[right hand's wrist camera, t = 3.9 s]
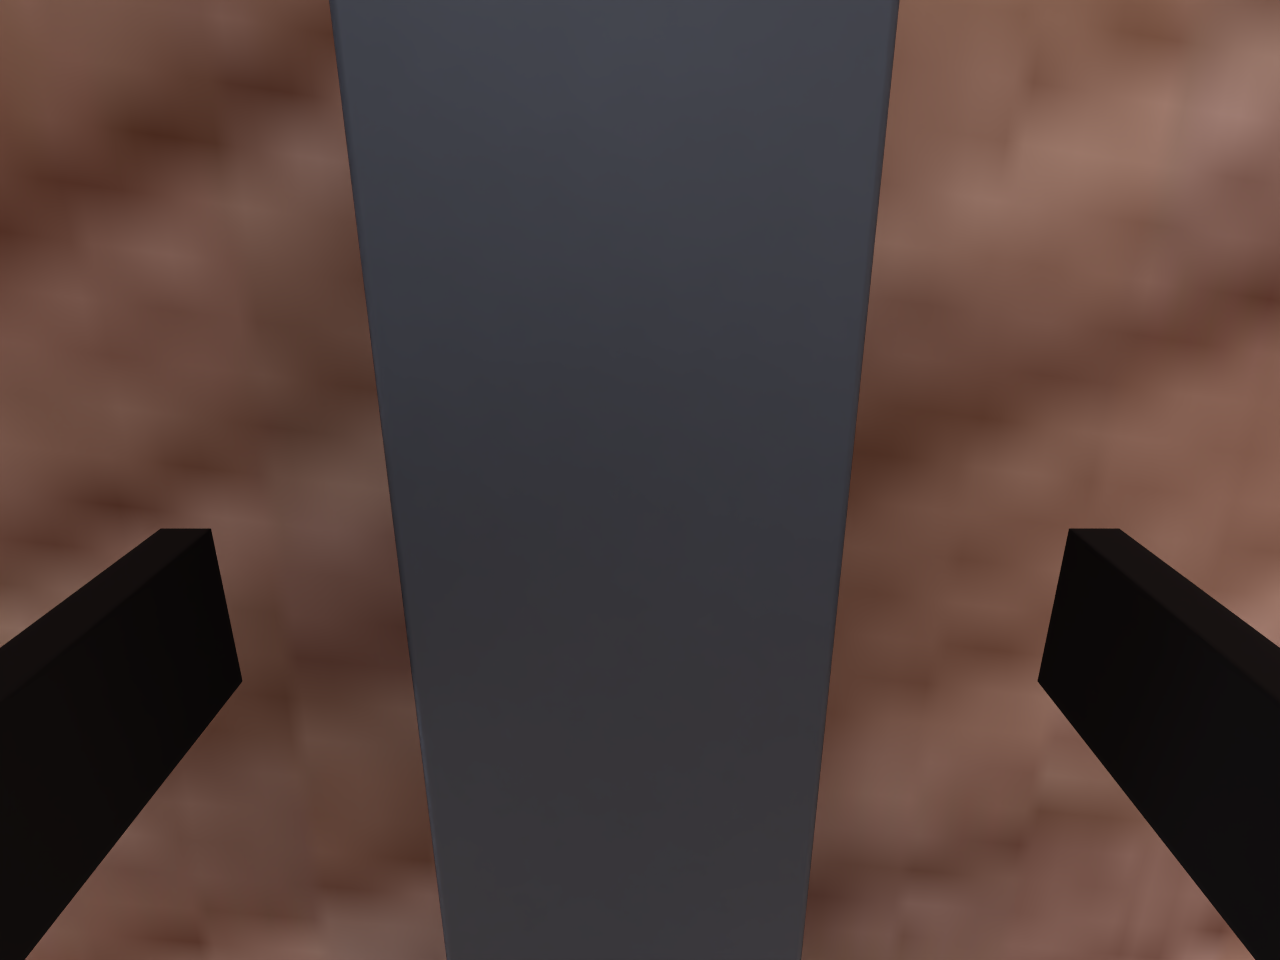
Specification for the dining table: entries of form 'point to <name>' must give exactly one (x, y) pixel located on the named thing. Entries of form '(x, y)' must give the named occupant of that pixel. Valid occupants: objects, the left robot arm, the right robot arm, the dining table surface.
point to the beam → (618, 442)
